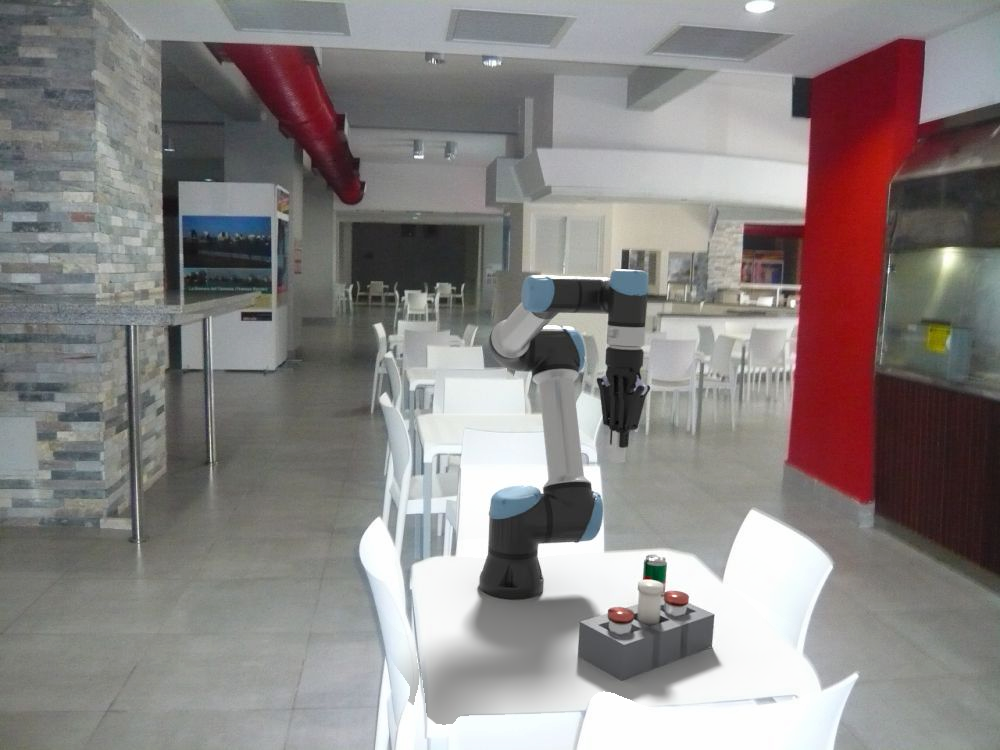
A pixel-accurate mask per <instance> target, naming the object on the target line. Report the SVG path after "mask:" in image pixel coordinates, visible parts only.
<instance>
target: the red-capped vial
mask: <svg viewBox="0 0 1000 750" xmlns="http://www.w3.org/2000/svg"><path fill="white" fill-rule="evenodd" d="M607 613H608V619H609V626H608V630H609V631H611V632H613V633H615V634H617V635H619V636H623V635H626V634H629V633H631V627H632V621H633V620H634V612H633V611H632V610H630V609H628V608H627V607H622V606H614V607H610V608H609V609H608V610H607Z"/></svg>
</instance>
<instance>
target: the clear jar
mask: <svg viewBox="0 0 1000 750" xmlns="http://www.w3.org/2000/svg"><path fill="white" fill-rule="evenodd" d="M689 600H690V596H689V594H687V593H685V592H683V591H679V590H666V591H665V593H664V601H665V607H664V612H665V613H668V614H670V615H672V616H674V617H676V618H677V617H681V616H684V615H686V609H687V604H688V603H689Z"/></svg>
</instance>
